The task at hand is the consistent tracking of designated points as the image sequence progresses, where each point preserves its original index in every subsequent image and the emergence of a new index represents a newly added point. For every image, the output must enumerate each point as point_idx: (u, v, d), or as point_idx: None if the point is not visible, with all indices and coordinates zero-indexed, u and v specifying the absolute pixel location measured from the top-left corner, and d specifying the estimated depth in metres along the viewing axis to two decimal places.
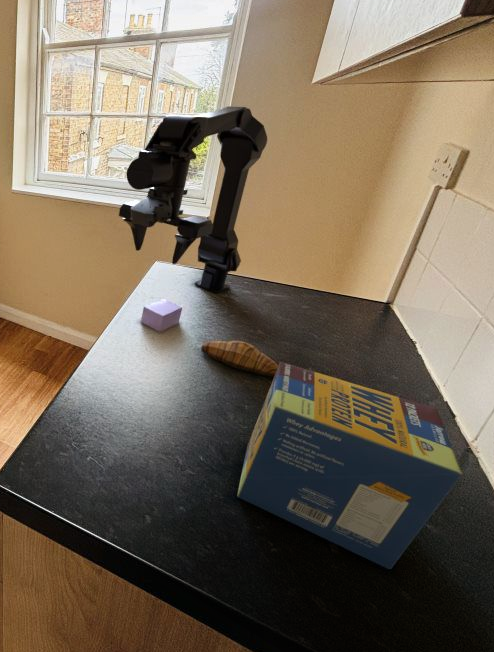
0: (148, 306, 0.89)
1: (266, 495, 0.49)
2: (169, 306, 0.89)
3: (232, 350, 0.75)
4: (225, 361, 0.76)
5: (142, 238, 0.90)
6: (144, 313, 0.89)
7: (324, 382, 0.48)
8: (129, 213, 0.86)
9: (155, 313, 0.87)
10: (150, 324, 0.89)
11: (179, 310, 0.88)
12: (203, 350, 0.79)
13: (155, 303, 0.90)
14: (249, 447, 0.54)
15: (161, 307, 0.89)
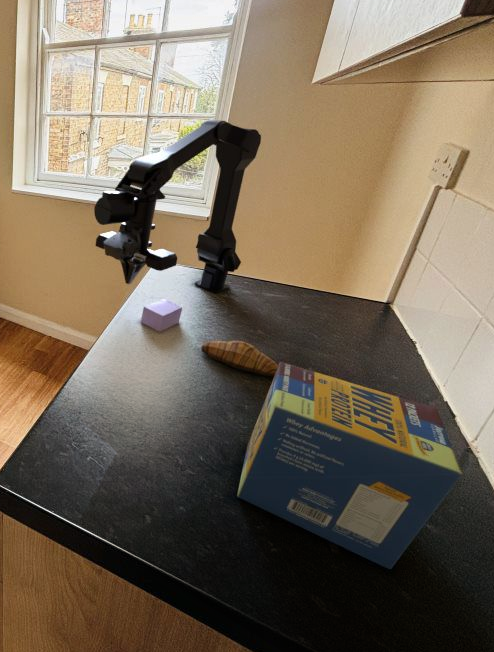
0: (148, 306, 0.89)
1: (266, 495, 0.49)
2: (169, 306, 0.89)
3: (232, 350, 0.75)
4: (225, 361, 0.76)
5: None
6: (144, 313, 0.89)
7: (324, 382, 0.48)
8: None
9: (155, 313, 0.87)
10: (150, 324, 0.89)
11: (179, 310, 0.88)
12: (203, 350, 0.79)
13: (155, 303, 0.90)
14: (249, 447, 0.54)
15: (161, 307, 0.89)
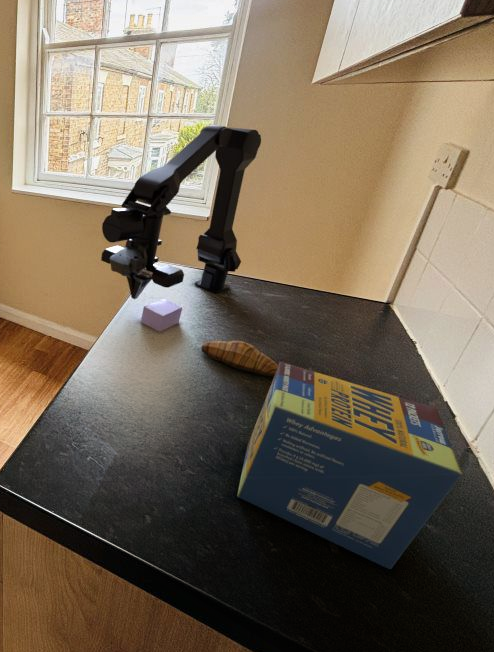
0: (148, 306, 0.89)
1: (266, 495, 0.49)
2: (169, 306, 0.89)
3: (232, 350, 0.75)
4: (225, 361, 0.76)
5: None
6: (144, 313, 0.89)
7: (324, 382, 0.48)
8: (110, 259, 0.94)
9: (155, 313, 0.87)
10: (150, 324, 0.89)
11: (179, 310, 0.88)
12: (203, 350, 0.79)
13: (155, 303, 0.90)
14: (249, 447, 0.54)
15: (161, 307, 0.89)
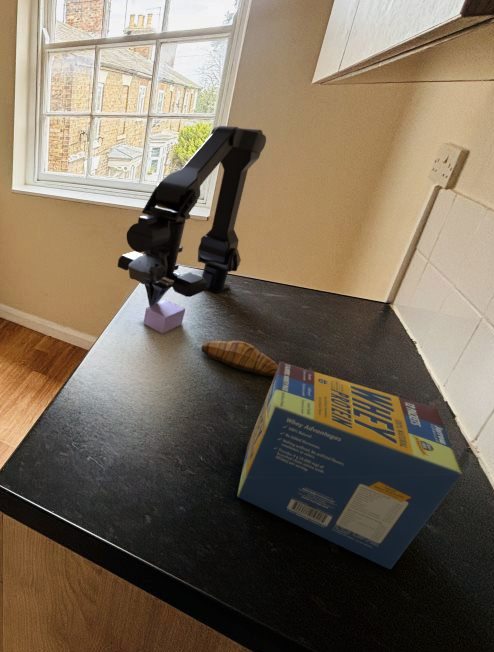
0: (151, 307, 0.89)
1: (267, 495, 0.49)
2: (172, 307, 0.89)
3: (232, 350, 0.75)
4: (225, 361, 0.76)
5: None
6: (147, 314, 0.89)
7: (324, 382, 0.48)
8: (127, 265, 0.90)
9: (158, 314, 0.86)
10: (153, 326, 0.88)
11: (182, 311, 0.88)
12: (203, 350, 0.79)
13: (157, 304, 0.90)
14: (249, 447, 0.54)
15: (164, 308, 0.88)
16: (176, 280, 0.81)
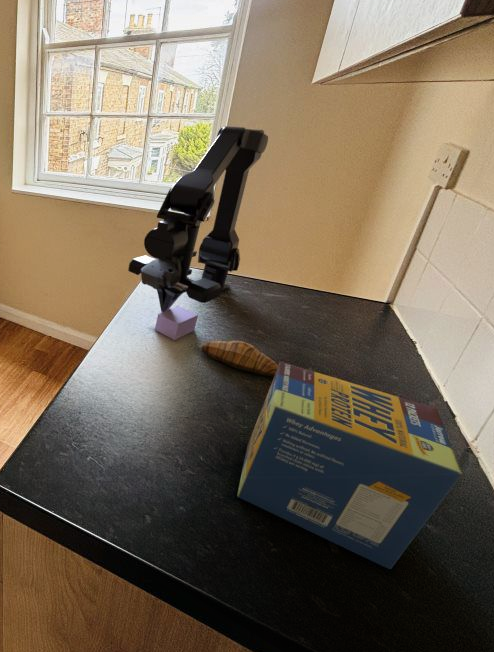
0: (162, 313, 0.86)
1: (267, 495, 0.49)
2: (184, 313, 0.86)
3: (232, 350, 0.75)
4: (225, 361, 0.76)
5: None
6: (158, 320, 0.86)
7: (324, 382, 0.48)
8: (139, 270, 0.88)
9: (170, 321, 0.84)
10: (165, 332, 0.86)
11: (194, 317, 0.86)
12: (203, 350, 0.79)
13: (169, 310, 0.88)
14: (249, 447, 0.54)
15: (176, 314, 0.86)
16: (190, 285, 0.79)
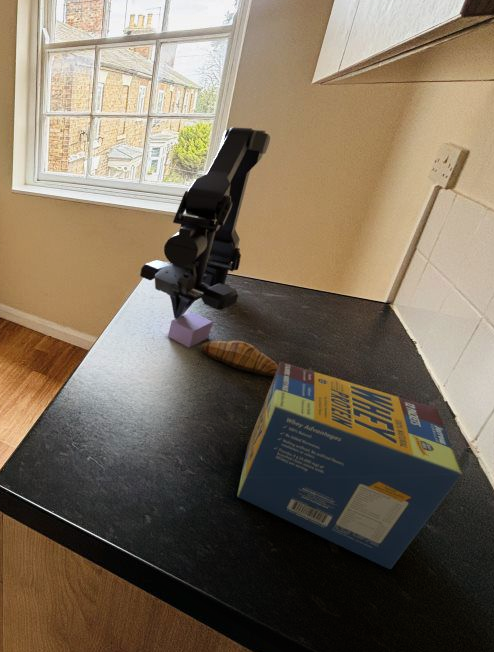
0: (176, 320, 0.84)
1: (266, 495, 0.49)
2: (199, 320, 0.84)
3: (232, 350, 0.75)
4: (225, 361, 0.76)
5: None
6: (172, 327, 0.84)
7: (324, 382, 0.48)
8: (151, 275, 0.86)
9: (184, 328, 0.82)
10: (179, 340, 0.83)
11: (209, 324, 0.83)
12: (203, 350, 0.79)
13: (183, 316, 0.85)
14: (249, 447, 0.54)
15: (191, 321, 0.84)
16: (206, 292, 0.77)
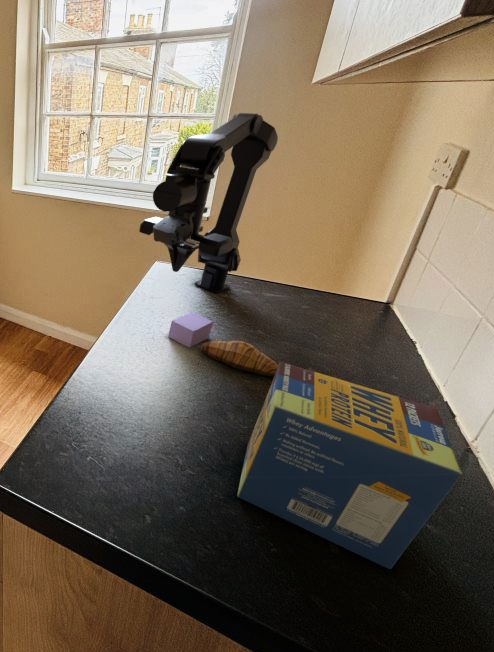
0: (176, 320, 0.84)
1: (267, 495, 0.49)
2: (199, 320, 0.84)
3: (232, 350, 0.75)
4: (225, 361, 0.76)
5: None
6: (172, 327, 0.84)
7: (324, 382, 0.48)
8: (150, 230, 0.89)
9: (185, 328, 0.81)
10: (179, 340, 0.83)
11: (209, 324, 0.83)
12: (203, 350, 0.79)
13: (183, 316, 0.85)
14: (249, 447, 0.54)
15: (191, 321, 0.84)
16: (202, 240, 0.80)
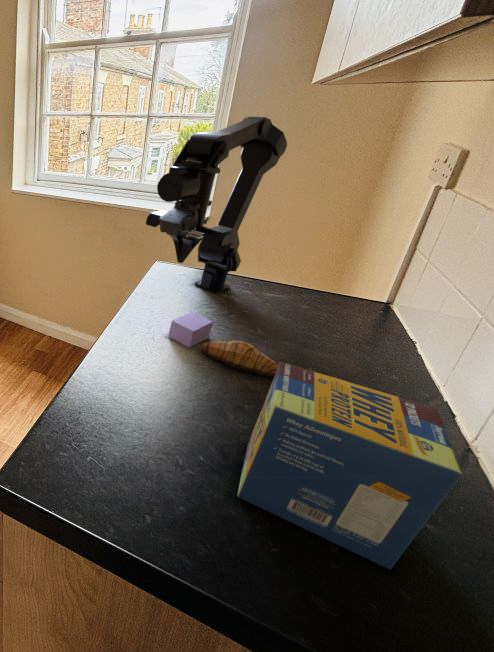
0: (176, 320, 0.84)
1: (266, 495, 0.49)
2: (199, 320, 0.84)
3: (232, 350, 0.75)
4: (225, 361, 0.76)
5: None
6: (172, 327, 0.84)
7: (324, 382, 0.48)
8: (156, 222, 0.93)
9: (185, 328, 0.81)
10: (179, 340, 0.83)
11: (209, 324, 0.83)
12: (203, 350, 0.79)
13: (183, 316, 0.85)
14: (249, 447, 0.54)
15: (191, 321, 0.84)
16: (207, 231, 0.84)
